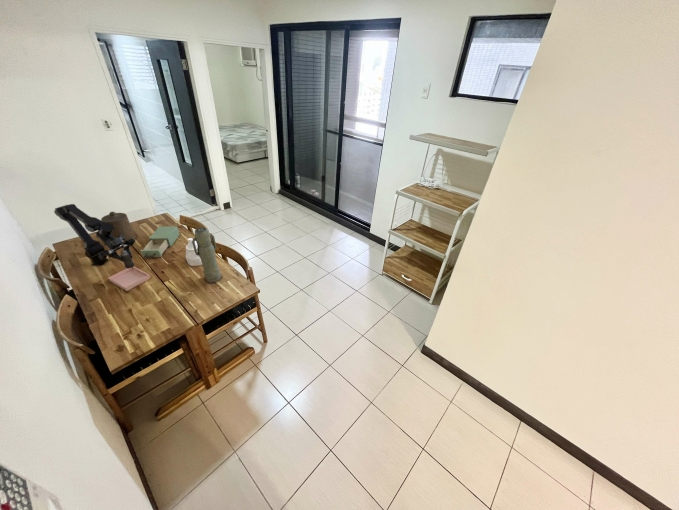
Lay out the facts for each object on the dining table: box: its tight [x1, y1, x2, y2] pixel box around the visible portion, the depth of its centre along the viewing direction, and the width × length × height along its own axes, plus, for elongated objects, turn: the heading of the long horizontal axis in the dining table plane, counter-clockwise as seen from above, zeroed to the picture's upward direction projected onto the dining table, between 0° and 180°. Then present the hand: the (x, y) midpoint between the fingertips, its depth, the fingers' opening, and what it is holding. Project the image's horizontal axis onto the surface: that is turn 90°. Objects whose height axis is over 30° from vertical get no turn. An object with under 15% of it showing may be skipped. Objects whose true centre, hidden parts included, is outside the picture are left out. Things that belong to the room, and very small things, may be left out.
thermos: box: [192, 226, 222, 284], centre depth 161 cm, size 9×12×35 cm
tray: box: [107, 266, 152, 292], centre depth 165 cm, size 17×14×2 cm
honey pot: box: [185, 237, 203, 267], centre depth 180 cm, size 13×13×18 cm
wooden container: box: [100, 211, 137, 244], centre depth 194 cm, size 15×15×22 cm
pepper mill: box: [119, 250, 136, 269], centre depth 160 cm, size 5×5×11 cm
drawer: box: [140, 239, 169, 259], centre depth 187 cm, size 21×11×5 cm, turn 7°
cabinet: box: [148, 225, 180, 248], centre depth 201 cm, size 18×13×7 cm
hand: (128, 259), depth 160 cm, fingers closed on pepper mill, 4 cm apart
